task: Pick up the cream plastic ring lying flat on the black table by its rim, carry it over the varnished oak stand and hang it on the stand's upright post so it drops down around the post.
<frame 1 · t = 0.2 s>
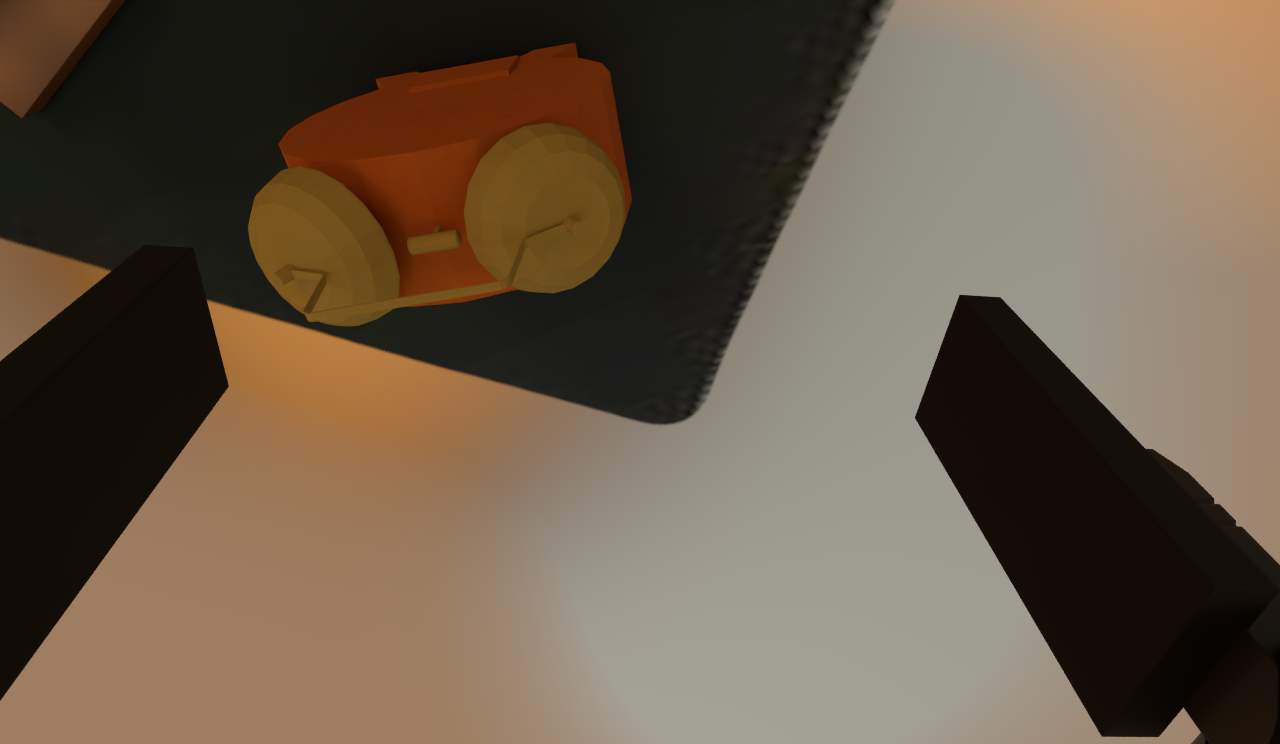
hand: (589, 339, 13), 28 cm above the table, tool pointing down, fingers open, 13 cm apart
alarm clock: (490, 118, 38), on the table
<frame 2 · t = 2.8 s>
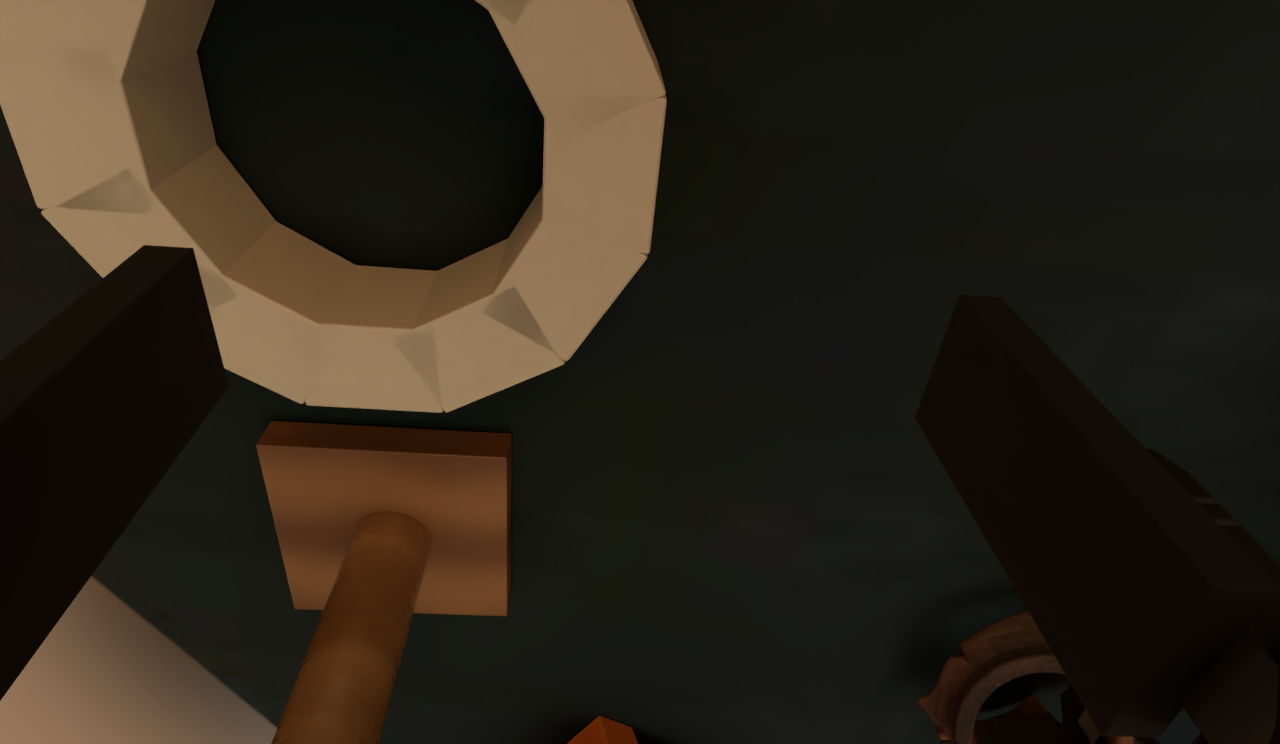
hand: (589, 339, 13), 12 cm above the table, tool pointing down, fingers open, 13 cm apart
stand: (401, 512, 31), on the table
pottery mug: (1007, 657, 38), on the table
ring: (383, 114, 22), on the table
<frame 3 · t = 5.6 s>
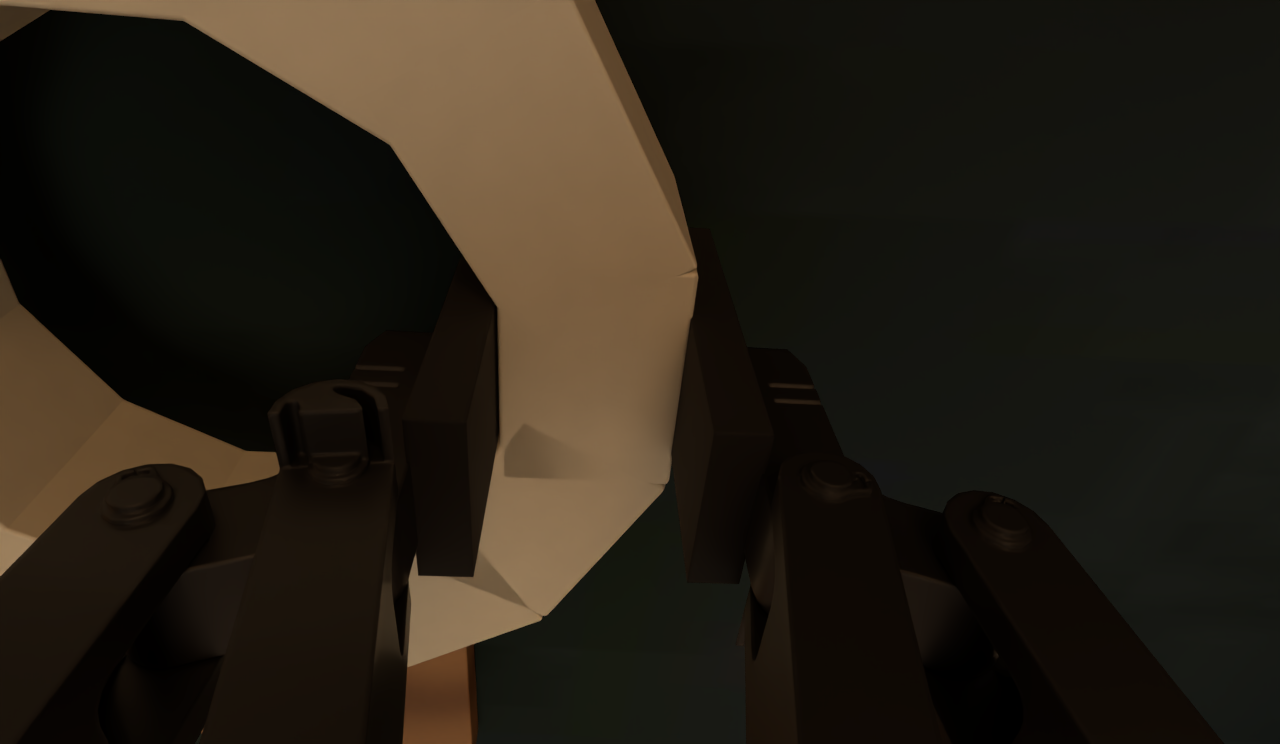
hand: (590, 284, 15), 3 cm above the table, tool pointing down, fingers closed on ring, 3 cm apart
stand: (341, 653, 26), on the table
ring: (265, 257, 15), point 3 cm above the table, touching gripper
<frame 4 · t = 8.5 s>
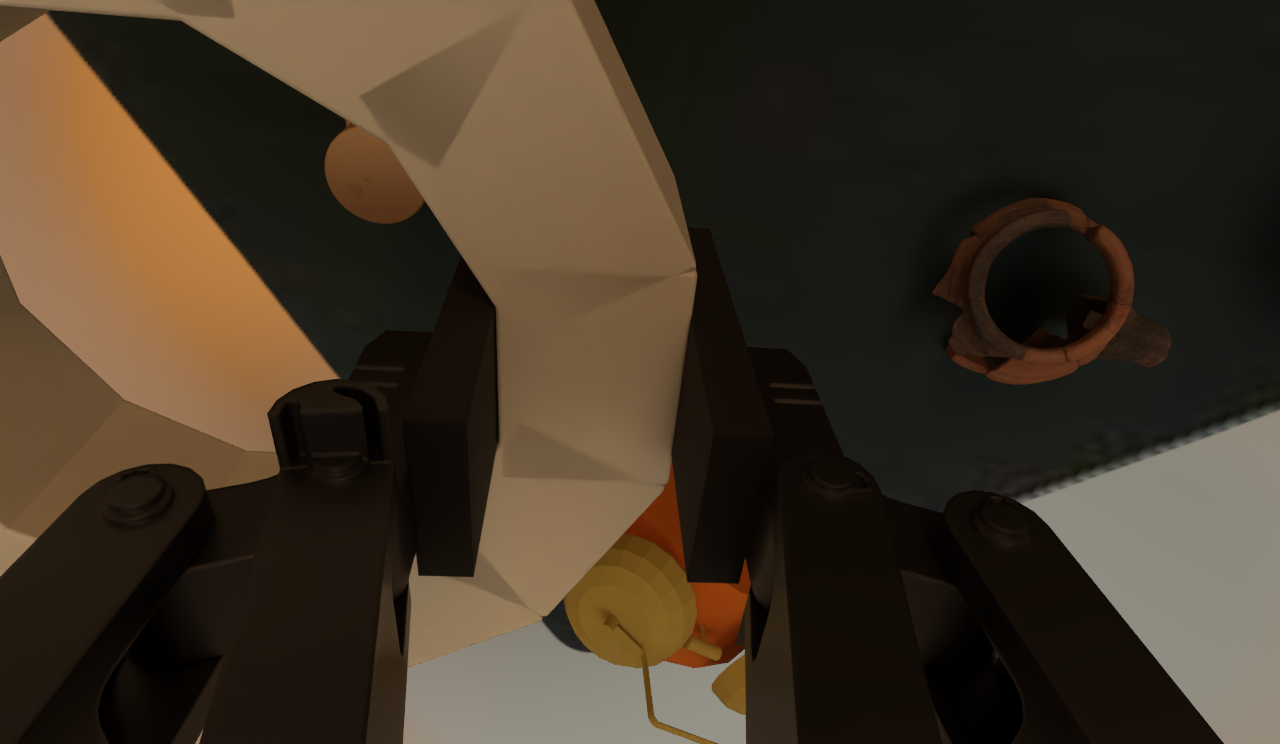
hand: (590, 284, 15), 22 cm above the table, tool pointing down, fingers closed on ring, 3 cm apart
alarm clock: (672, 423, 45), on the table
stand: (452, 75, 33), on the table
pottery mug: (1015, 281, 41), on the table
ring: (265, 257, 15), point 22 cm above the table, touching gripper
when the fingers open (11 cm above the table, at t = 11.4 s): ring drops 9 cm, resting on stand.
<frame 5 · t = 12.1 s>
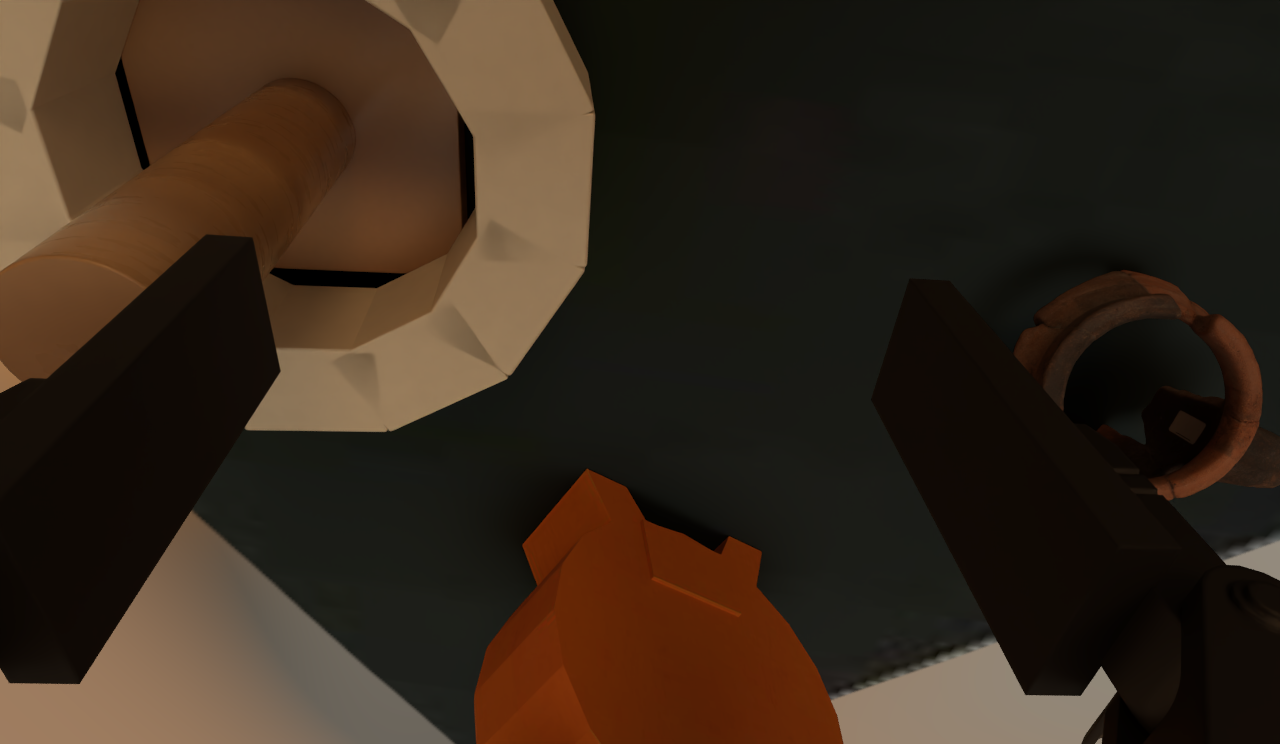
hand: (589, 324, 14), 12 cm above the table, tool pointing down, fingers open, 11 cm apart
alarm clock: (642, 547, 35), on the table
stand: (316, 117, 23), on the table
pottery mug: (1078, 369, 32), on the table
ring: (313, 132, 22), point 1 cm above the table, touching stand
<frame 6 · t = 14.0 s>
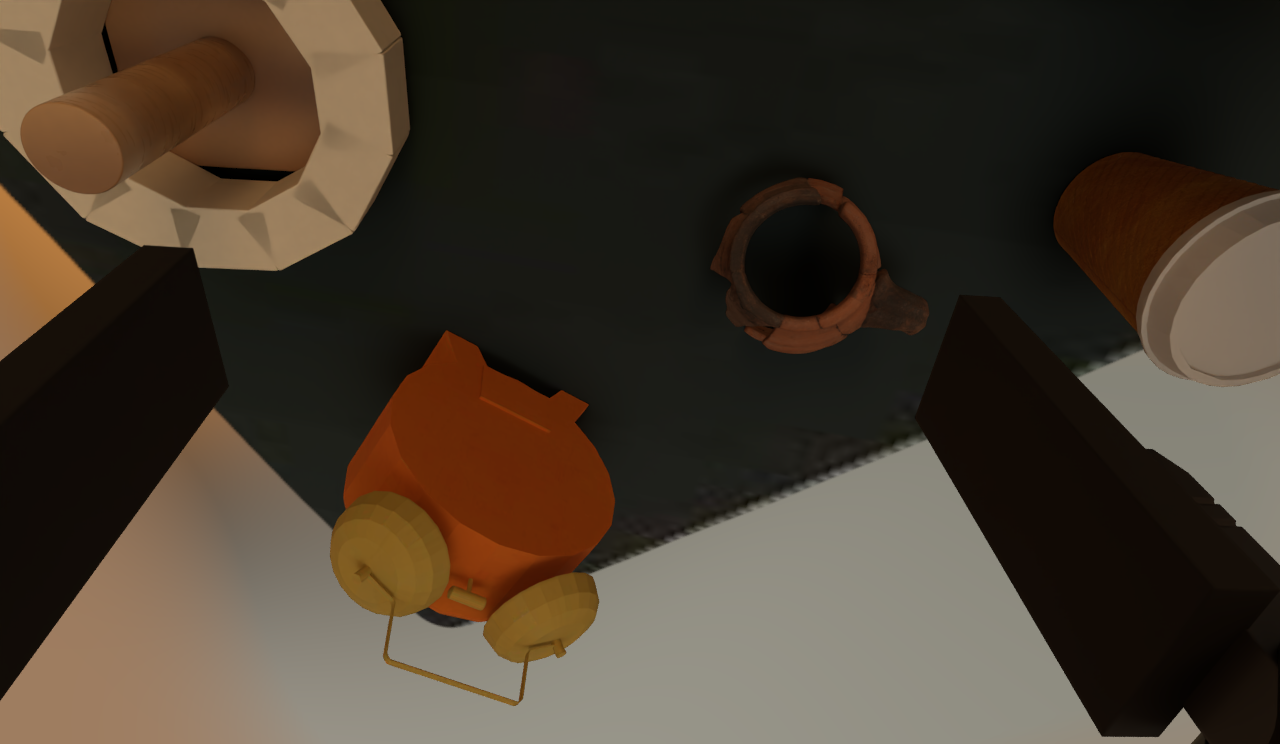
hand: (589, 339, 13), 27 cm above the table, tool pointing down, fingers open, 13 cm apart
alarm clock: (497, 398, 47), on the table
stand: (233, 65, 35), on the table
disposable coffee cup: (1106, 205, 43), on the table
pottery mug: (803, 258, 43), on the table
ring: (227, 72, 34), point 1 cm above the table, touching stand
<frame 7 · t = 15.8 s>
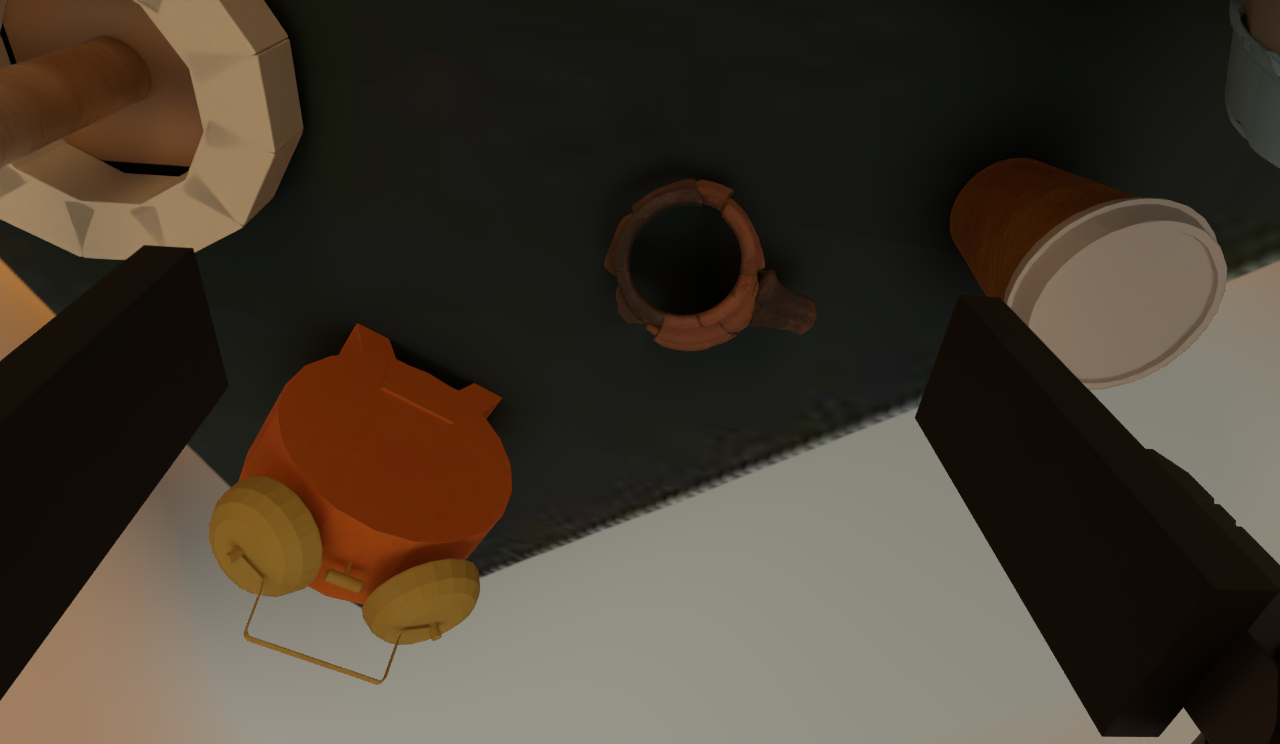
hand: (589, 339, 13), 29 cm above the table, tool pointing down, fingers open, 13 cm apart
alarm clock: (412, 390, 48), on the table
stand: (133, 64, 37), on the table
disposable coffee cup: (1001, 209, 43), on the table
pottery mug: (703, 258, 44), on the table
ring: (123, 71, 36), point 1 cm above the table, touching stand
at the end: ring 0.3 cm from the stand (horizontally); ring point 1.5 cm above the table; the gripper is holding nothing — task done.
